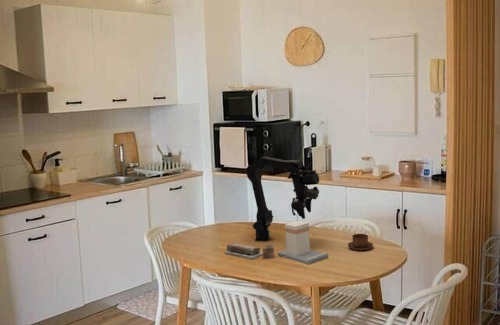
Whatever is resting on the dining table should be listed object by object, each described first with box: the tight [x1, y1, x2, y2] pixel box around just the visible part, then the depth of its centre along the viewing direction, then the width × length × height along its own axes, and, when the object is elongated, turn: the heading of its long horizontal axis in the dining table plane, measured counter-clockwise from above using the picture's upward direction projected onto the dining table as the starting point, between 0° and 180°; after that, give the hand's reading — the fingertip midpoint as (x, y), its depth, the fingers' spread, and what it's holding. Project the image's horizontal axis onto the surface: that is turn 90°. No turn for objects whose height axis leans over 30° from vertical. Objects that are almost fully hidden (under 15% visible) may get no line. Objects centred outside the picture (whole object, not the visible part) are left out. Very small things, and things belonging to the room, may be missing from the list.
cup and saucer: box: [347, 233, 374, 251], centre depth 275 cm, size 12×12×6 cm
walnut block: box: [262, 244, 275, 259], centre depth 269 cm, size 5×5×5 cm
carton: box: [284, 220, 311, 256], centre depth 269 cm, size 7×9×14 cm
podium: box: [277, 249, 329, 265], centre depth 267 cm, size 20×13×2 cm, turn 40°
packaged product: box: [224, 241, 263, 261], centre depth 275 cm, size 18×5×10 cm
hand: (306, 215), depth 284 cm, fingers open, 9 cm apart
